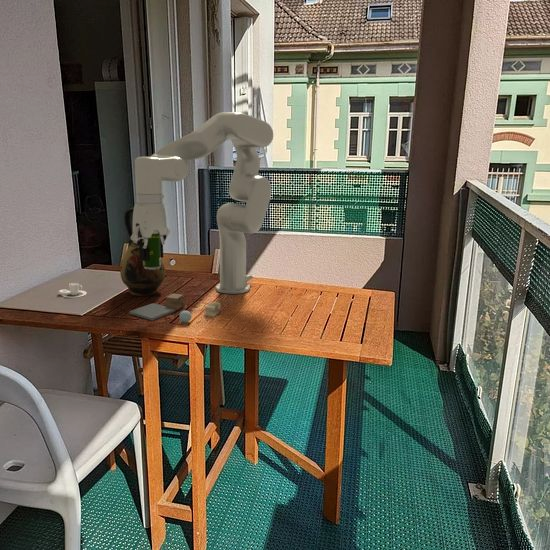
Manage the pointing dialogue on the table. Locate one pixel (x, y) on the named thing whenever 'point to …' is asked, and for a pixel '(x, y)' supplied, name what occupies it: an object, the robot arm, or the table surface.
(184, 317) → the grey ball
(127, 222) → the ceramic jug
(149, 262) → the beer can
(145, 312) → the coaster
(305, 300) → the table surface
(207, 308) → the beech block
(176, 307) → the tan cube
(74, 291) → the teacup and saucer
